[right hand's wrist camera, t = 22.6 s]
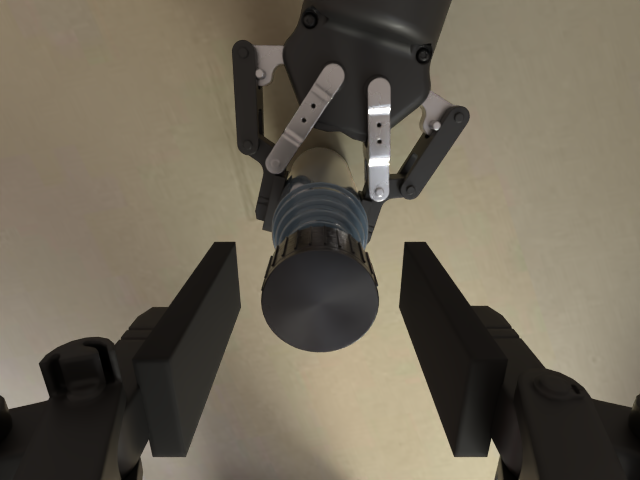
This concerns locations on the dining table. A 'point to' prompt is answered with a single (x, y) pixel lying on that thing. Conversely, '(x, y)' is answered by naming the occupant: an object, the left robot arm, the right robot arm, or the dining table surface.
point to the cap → (320, 290)
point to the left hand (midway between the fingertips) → (310, 236)
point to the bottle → (320, 198)
